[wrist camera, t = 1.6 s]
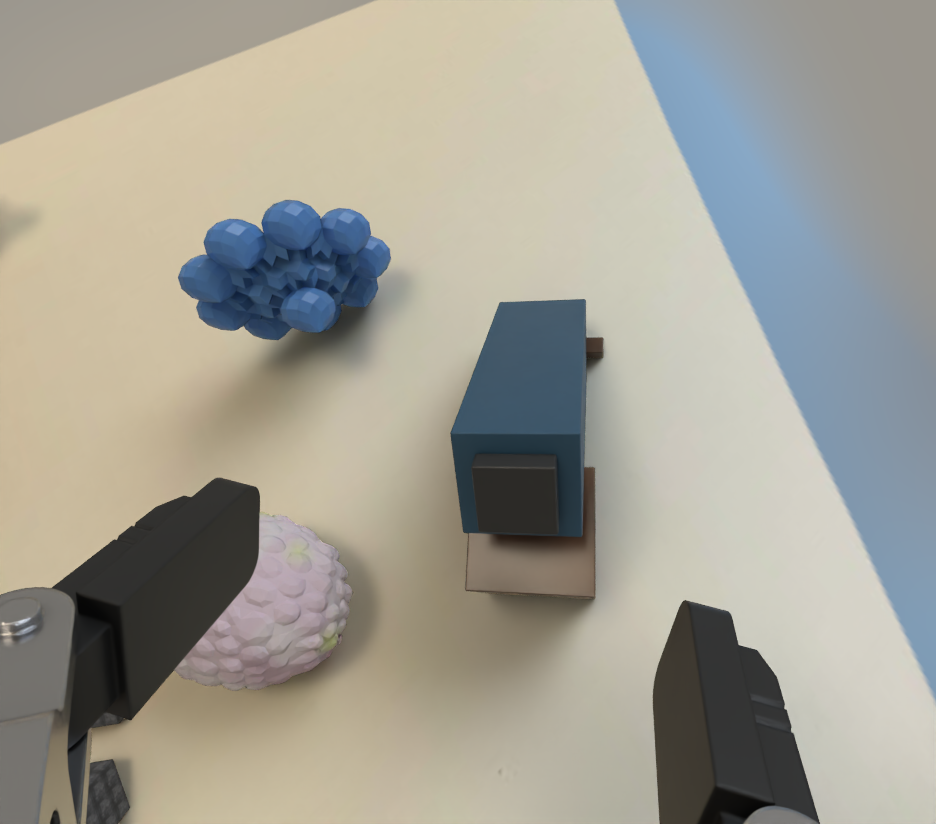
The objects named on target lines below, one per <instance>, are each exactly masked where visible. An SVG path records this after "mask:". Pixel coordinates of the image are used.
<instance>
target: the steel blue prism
mask: <svg viewBox="0 0 936 824" xmlns="http://www.w3.org/2000/svg"><path fill="white" fill-rule="evenodd" d="M586 377H587V376H586V300H585V299H579V300H552V301H525V302H500V303H499V306H498V309H497V311H496V314H495V317H494V319H493V322H492V324H491V327H490V330H489V332H488V335H487V338H486V340H485V343H484V346H483V348H482V351H481V354H480V356H479V359H478V362H477V364H476V367H475V370H474V372H473V375H472V378H471V380H470V383H469V386H468V388H467V391H466V394H465V396H464V399H463V401H462V404H461V407H460V409H459V412H458V415H457V417H456V420H455V423H454V425H453V428H452V431H451V433H450V434H451V441H452V449H453V457H454V465H455V472H456V480H457V488H458V495H459V503H460V511H461V519H462V526H463V532H464V533H480V534H508V535H537V536H566V537H582V532H583V493H584V454H585V415H586Z"/></svg>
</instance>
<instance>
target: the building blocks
mask: <svg viewBox="0 0 936 824" xmlns="http://www.w3.org/2000/svg"><path fill="white" fill-rule="evenodd" d="M123 719H124V718H122V717H119V716H116V715H113V714H110V713H107V712H104V714H103V715H102V716H101V717H100V718H99V719H98V720H97V721H96V722H95V723H94V725H93V726H92V727H91V728H94V727H100V726H106V725H112V724H118V723H120V722H121V721H122V720H123ZM129 808H130V806H129V803H128V800H127V797H126V795H125V792H124V789H123V786H122V783H121V781H120V778H119V775H118V772H117V769H116V767H115V764H114V761H113V759H111V760H105V761H99V762H93V763H90V773H89V787H88V801H87V815H86V824H118V822H119V821H120V820H121V819H122V817H123V816H124V815H125V813H126V812H127V811H128V810H129Z"/></svg>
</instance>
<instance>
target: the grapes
mask: <svg viewBox="0 0 936 824" xmlns="http://www.w3.org/2000/svg"><path fill="white" fill-rule="evenodd" d="M261 223H262V227H263V232H264V233H263V232H262V231H261V230H260V229H259V228H258V227H257V226H256V225H253V224H251V223H248V222H246V221H243V220H239V219H228V220H224V221H222V222H219V223H216V224H215V225H214V226H213V227H212V228H211V229H209V230H208V232H207V234H206V237H205V240H204V246H205V249H206V253H207V255H200V256H197V257H194V258H192V259H190V260H189V261H188V262H187V263H186V264H185V265H183V266H182V268H181V271H180V274H179V276H178V279H179V282H180V285H181V289H182V290H184V291H185V292H186V293H187V294H188V295H189V296H191V297H192V298H195V299H197V300H199V302H198V304H197V307H196V308H197V311H198V315H199V318H200V319H202V320H203V321H204V322H205V323H206V324H208V325H209V326H212V327H215V328H218V329H221V330H230V331H233V330H237V329H239V328H241V327H242V326H244V327H245V329H246V330H248V331H249V332H250V333H251V334H252V335H254V336H257V337H260V338H262V339H269V340H279V339H280V338H282V337H283V336H285V335H286V333H287V332H288V331H289V330H290V329H291V328H294V329H297V330H300V331H303V332H312V333H320V332H321V331H325V330H328V329H330V328H331V327H332V326H333V325H334V324H335V323H336V322H337V321H338V319H339V316H340V314H341V311H342V310H341V305H342V304H344V305H347V306H349V307H365V306H367V305H368V304H369V303H370V302H371V301H372V300H373V298H374V297H375V295H376V292H377V290H378V285H377V279H376V278H377V277H379V276H380V275H382V273H383V272H384V271H385V270H386V269H387V267H388V265H389V262H390V260H391V256H390V249H389V248H388V247H387V245H386V244H385V243H384V242H383V241H382V240H380V239H377V238H375V237H373V236H370V235H371V231H370V225H369V222H368V221H367V220H366V219H365V218H364V216H363V215H362V214H360V213H358V212H356V211H353V210H351V209H343V208H338V209H334V210H331V211H329V212H327V213H326V214H325V215H324V216H323V217H322V218H321V219H320V216H319V215H318V214H317V213H316V212H315V211H314V209H313V208H312V207H311V206H309V205H307V204H304V203H302V202H300V201H294V200H285V201H282V202H279V203H276V204H273V205H272V206H271V207H270V208H269V209H268V210H267V211H266V212H265V214H264V217H263V220H262V222H261Z"/></svg>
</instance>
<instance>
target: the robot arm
mask: <svg viewBox="0 0 936 824" xmlns="http://www.w3.org/2000/svg"><path fill="white" fill-rule="evenodd" d="M259 519H260V494H259V491H258V489H257V488H256V487H254V486H250V485H246V484H242V483H239V482H235V481H231V480H227V479H223V478H216V479H214V480H212V481H211V482H210V483H208V484H207V485H206V486H205V487H204V488H202V489H201V490H200V491H199V492H197V493H196V494H195V495H194V496H192V497H187V496H182V497H179V498H177V499H174V500H172V501H169V502H167V503H165V504H162V505H160V506H157V507H155V508H154V509H153V510H152V511H150V512H149V513H148V514H146V515H145V516H144V517H143V518H141V519H140V520H139V521H137V522H136V524H135V526H134V527H133V526H131V527H130V528H128V529H127V530H126V531H124V532H123V533H122V534H121V535H119V537H118V539H117V540H113V541H112V542H110V543H109V544H108V545H106V546H105V547H104V548H103V549H101V550H100V551H99V552H97V553H96V554H95V555H94V556H92V557H91V558H90V559H88V560H87V561H86V562H84V563H83V564H82V565H81V566H79V567H78V568H77V569H75V570H74V571H73V572H72V573H70V574H69V575H68V576H66V577H65V578H64V579H63V580H61V581H60V582H59V583H57V584H56V585H55V586H53V587H52V588H45V587H34V588H24V589H19V590H14V591H11V592H7V593H4V594H2V595H0V824H86V815H87V801H88V787H89V773H90V759H91V745H92V732H91V727H92V726H93V725H94V723H95V722H96V721H97V720H98V719H99V718H100V717H101V716H102V715H103V714H104V712H107V713H110V714H113V715H116V716H119V717H122V718H125V719H128V720H132V718H133V717H134V716H135V715H136V714H137V713H138V711H139V710H140V709H141V708H142V707H143V706H144V704H145V703H146V702H147V701H148V700H149V699H150V697H151V696H152V695H153V694H154V693H155V692H156V690H157V689H158V688H159V687H160V686H161V685H162V683H163V682H164V681H165V680H166V679H167V678H168V676H169V675H170V674H171V673H172V672H173V671H174V669H175V668H176V667H177V666H178V665H179V664H180V662H181V661H182V660H183V659H184V658H185V656H186V655H187V654H188V653H189V652H190V651H191V649H192V648H193V647H194V646H195V645H196V644H197V642H198V641H199V640H200V639H201V638H202V637H203V635H204V634H205V633H206V632H207V631H208V630H209V628H210V627H211V626H212V625H213V624H214V623H215V621H216V620H217V619H218V618H219V617H220V616H221V614H222V613H223V612H224V611H225V610H226V609H227V607H228V606H229V605H230V604H231V603H232V601H233V600H234V599H235V598H236V597H237V596H238V594H239V593H240V592H241V591H242V590H243V589H244V587H245V586H246V585H247V584H248V582H249V581H250V579H251V577H252V575H253V573H254V570H255V568H256V565H257V561H258V555H259ZM784 705H785V703H784V700H783V696H782V693H781V690H780V686H779V683H778V679H777V677H776V675H775V674H774V673H773V671H772V670H771V668H770V667H769V666H768V664H767V663H766V662H765V660H764V659H763V658H762V656H761V655H760V653H759V652H758V651H757V650H754V649H751V648H747V647H743V646H739V645H738V641H737V637H736V632H735V628H734V624H733V620H732V616H731V614H730V613H729V612H728V611H725V610H721V609H717V608H713V607H709V606H705V605H702V604H698V603H694V602H690V601H686V600H685V601H683V602H682V604H681V605H680V607H679V610H678V613H677V615H676V618H675V621H674V623H673V626H672V629H671V632H670V634H669V637H668V640H667V642H666V645H665V648H664V651H663V653H662V656H661V659H660V661H659V664H658V668H657V671H656V676H655V681H654V689H653V714H654V732H655V750H656V767H657V785H658V802H659V820H660V824H820V822H819V819H818V816H817V812H816V809H815V806H814V802H813V799H812V795H811V792H810V788H809V785H808V782H807V778H806V775H805V771H804V768H803V765H802V761H801V758H800V754H799V751H798V748H797V744H796V741H795V737H794V734H793V733H791V724H790V720H789V717H788V713H787V710H785V709H784Z"/></svg>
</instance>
